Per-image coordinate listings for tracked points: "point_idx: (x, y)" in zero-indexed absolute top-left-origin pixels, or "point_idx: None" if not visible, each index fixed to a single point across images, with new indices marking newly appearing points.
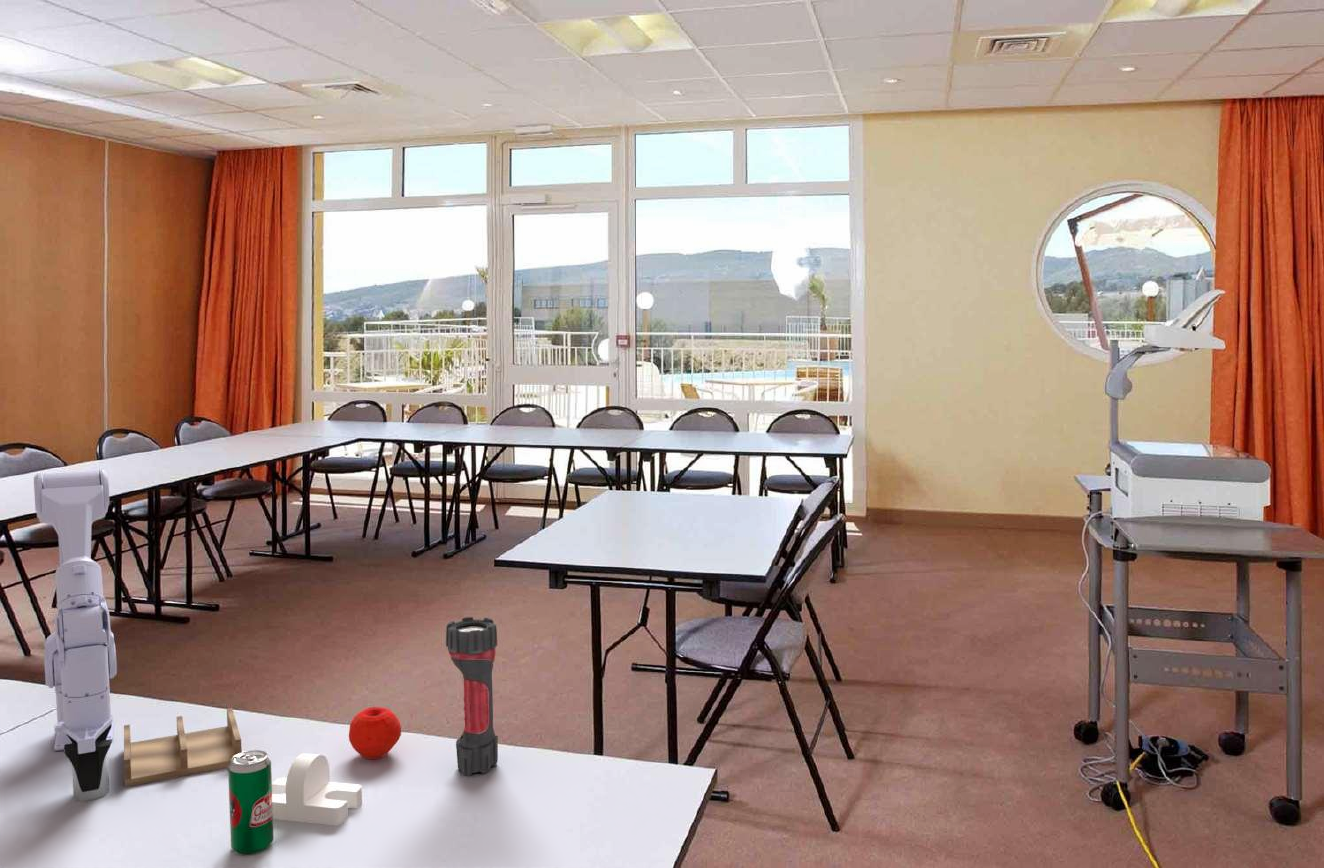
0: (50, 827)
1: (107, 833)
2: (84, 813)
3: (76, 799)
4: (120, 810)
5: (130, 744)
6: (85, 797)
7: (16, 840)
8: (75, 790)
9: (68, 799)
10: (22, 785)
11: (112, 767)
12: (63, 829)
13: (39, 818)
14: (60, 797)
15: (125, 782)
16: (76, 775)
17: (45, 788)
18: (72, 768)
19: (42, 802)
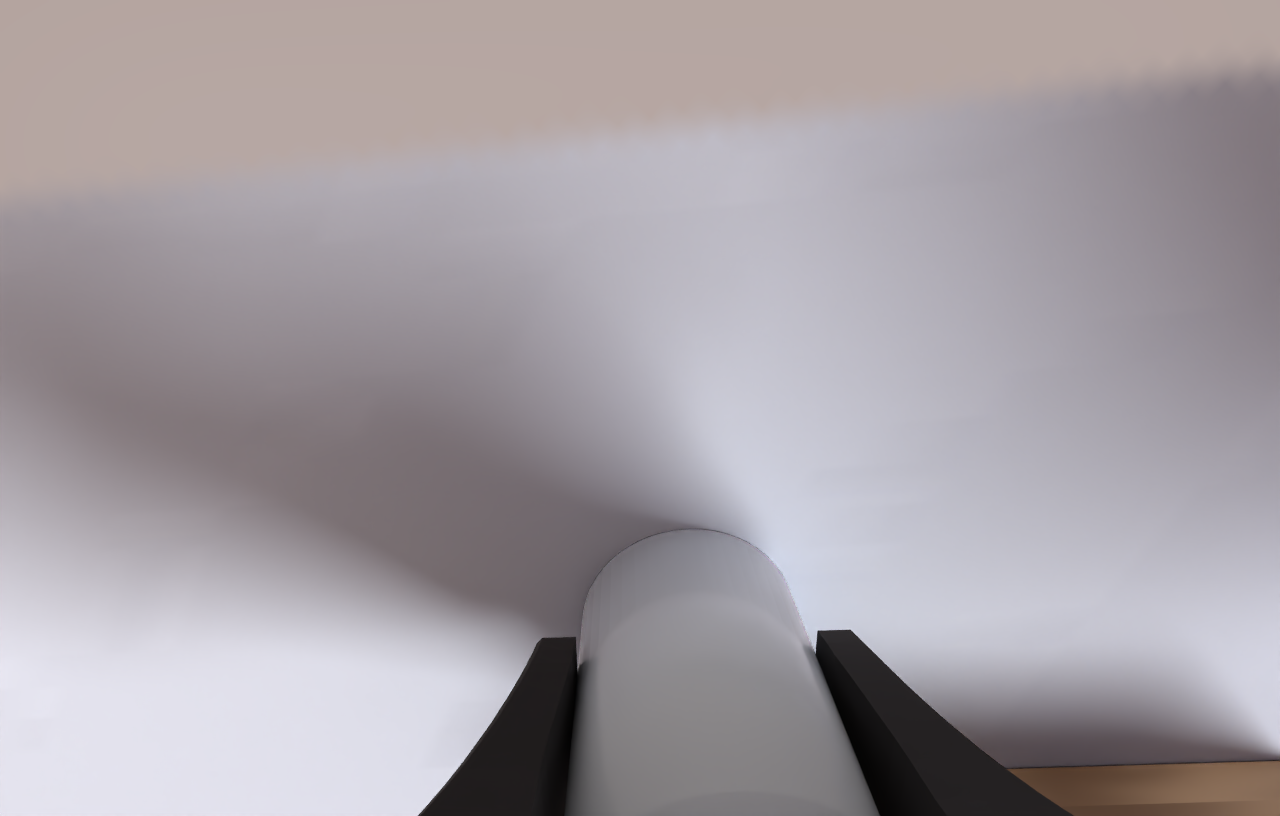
0: (235, 428)
1: (52, 722)
2: (385, 601)
3: (627, 549)
4: (351, 766)
5: None
6: (587, 610)
7: (78, 226)
8: (631, 584)
9: (660, 501)
10: (1133, 166)
11: (1046, 708)
12: (177, 504)
13: (414, 347)
14: (723, 452)
15: None
16: (612, 686)
17: (954, 343)
18: (671, 697)
19: (697, 344)
